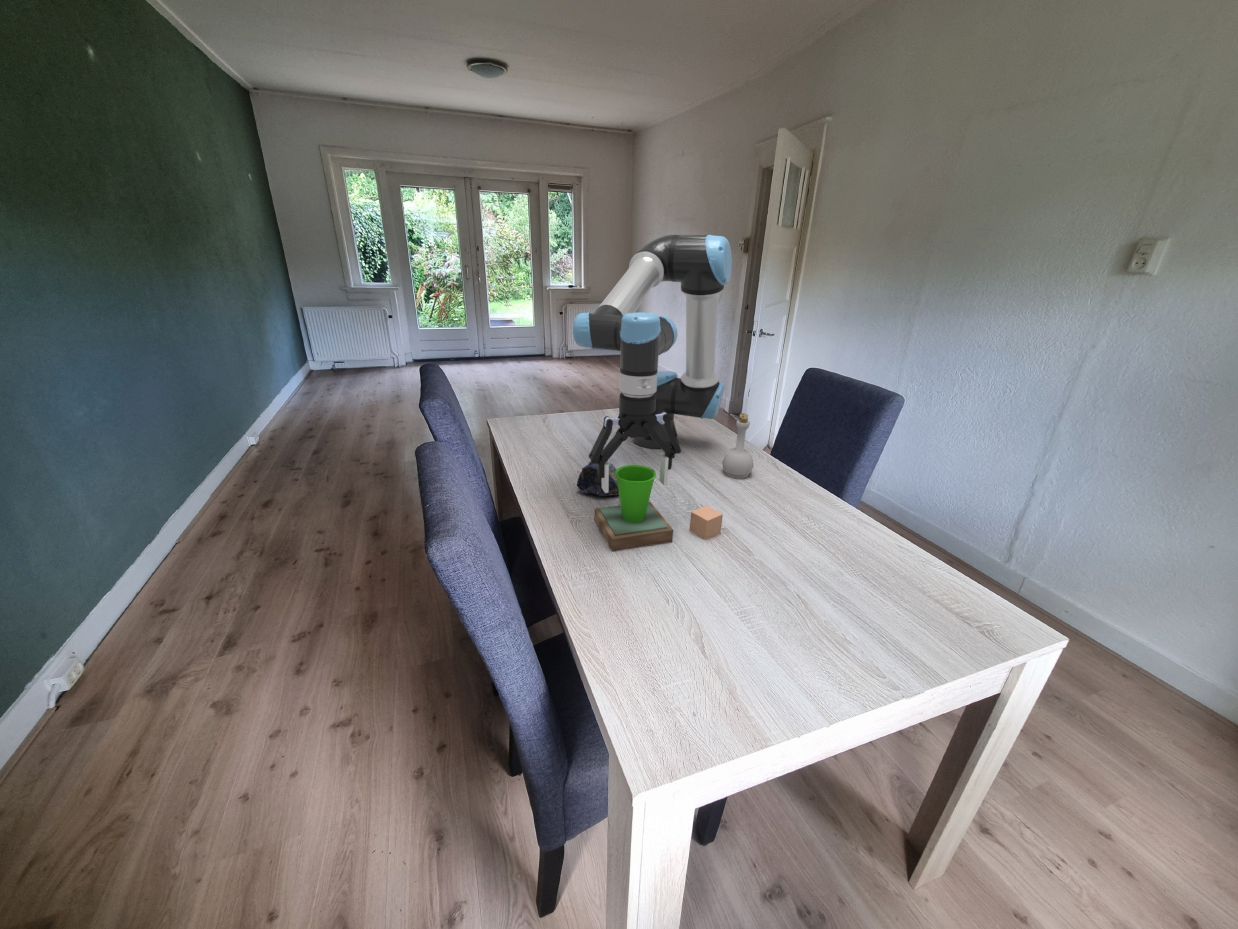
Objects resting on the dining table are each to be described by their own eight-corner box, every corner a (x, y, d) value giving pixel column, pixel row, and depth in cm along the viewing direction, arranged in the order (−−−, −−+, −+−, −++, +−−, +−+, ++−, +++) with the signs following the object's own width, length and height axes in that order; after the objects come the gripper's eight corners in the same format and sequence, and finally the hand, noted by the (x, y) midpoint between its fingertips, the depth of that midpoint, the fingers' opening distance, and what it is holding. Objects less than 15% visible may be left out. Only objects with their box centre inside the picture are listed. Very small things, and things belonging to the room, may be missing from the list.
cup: (650, 529, 107) (653, 483, 102) (609, 524, 108) (610, 478, 104) (656, 510, 115) (659, 467, 110) (618, 505, 116) (619, 462, 112)
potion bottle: (749, 468, 147) (757, 410, 140) (753, 481, 139) (762, 420, 132) (719, 466, 148) (726, 409, 141) (722, 479, 140) (729, 418, 133)
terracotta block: (689, 530, 114) (691, 511, 112) (704, 524, 116) (706, 505, 114) (705, 540, 110) (707, 520, 108) (720, 533, 113) (722, 514, 111)
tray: (594, 519, 117) (594, 507, 115) (649, 512, 121) (650, 499, 120) (611, 551, 105) (612, 537, 103) (672, 541, 109) (673, 528, 107)
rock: (569, 486, 127) (586, 451, 126) (587, 489, 136) (603, 457, 136) (602, 505, 123) (620, 469, 122) (619, 507, 132) (635, 474, 131)
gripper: (582, 402, 93) (583, 501, 102) (701, 393, 100) (693, 486, 109) (573, 392, 100) (575, 485, 108) (686, 384, 107) (679, 472, 116)
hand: (634, 486), depth 109 cm, fingers open, 13 cm apart
